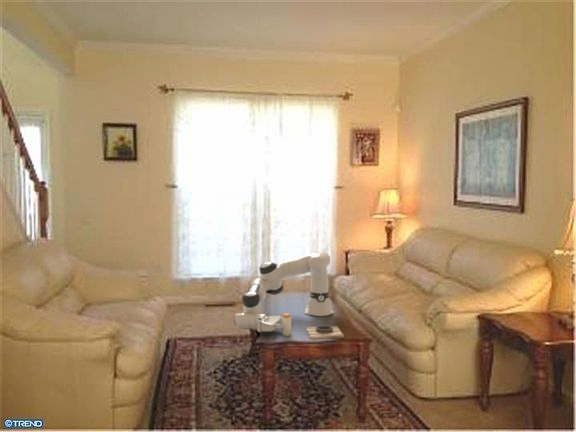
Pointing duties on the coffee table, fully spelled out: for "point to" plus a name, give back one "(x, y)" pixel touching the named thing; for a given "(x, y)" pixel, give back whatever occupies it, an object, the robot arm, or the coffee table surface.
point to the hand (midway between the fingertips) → (286, 323)
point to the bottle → (286, 324)
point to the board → (324, 332)
